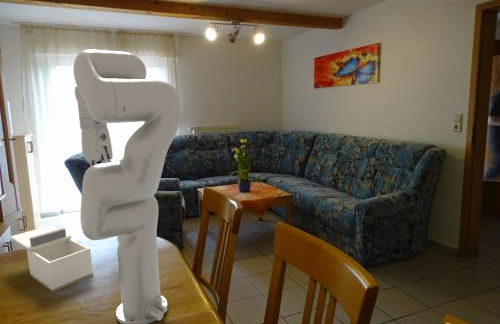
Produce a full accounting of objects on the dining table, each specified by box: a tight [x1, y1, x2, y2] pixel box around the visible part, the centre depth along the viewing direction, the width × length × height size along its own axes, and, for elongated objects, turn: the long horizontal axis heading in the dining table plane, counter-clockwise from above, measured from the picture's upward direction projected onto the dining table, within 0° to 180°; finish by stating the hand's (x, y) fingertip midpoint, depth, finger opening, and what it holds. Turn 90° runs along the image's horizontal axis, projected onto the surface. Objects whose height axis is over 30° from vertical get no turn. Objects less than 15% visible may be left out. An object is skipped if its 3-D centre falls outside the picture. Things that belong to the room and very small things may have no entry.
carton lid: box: [10, 225, 72, 251], centre depth 113 cm, size 16×12×3 cm
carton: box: [26, 238, 94, 293], centre depth 106 cm, size 16×12×9 cm
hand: (99, 181), depth 107 cm, fingers closed
